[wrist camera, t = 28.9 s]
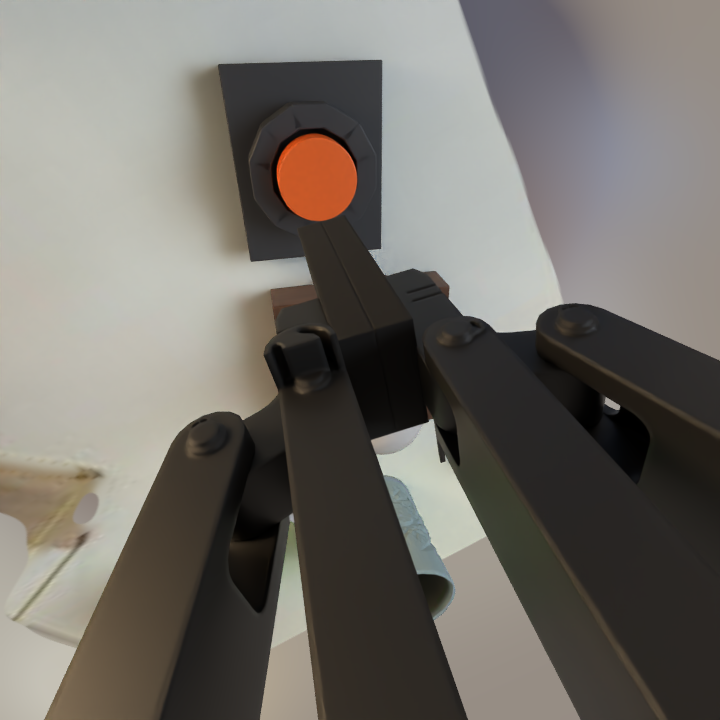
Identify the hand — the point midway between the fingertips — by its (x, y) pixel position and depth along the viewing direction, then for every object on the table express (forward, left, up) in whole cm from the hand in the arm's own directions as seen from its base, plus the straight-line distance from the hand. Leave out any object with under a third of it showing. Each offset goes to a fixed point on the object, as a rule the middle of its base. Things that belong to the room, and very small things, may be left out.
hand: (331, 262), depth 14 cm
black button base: (0, +1, -18) cm, 18 cm away
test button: (0, +1, -14) cm, 14 cm away
